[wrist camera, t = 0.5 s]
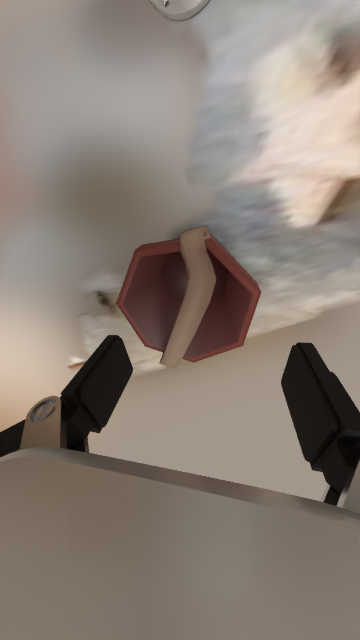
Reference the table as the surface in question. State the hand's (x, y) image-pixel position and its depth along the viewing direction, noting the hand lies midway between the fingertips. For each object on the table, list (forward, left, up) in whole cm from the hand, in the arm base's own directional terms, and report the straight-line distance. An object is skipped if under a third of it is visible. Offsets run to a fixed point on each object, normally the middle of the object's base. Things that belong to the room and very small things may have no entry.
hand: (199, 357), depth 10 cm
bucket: (+4, -8, -35) cm, 36 cm away
